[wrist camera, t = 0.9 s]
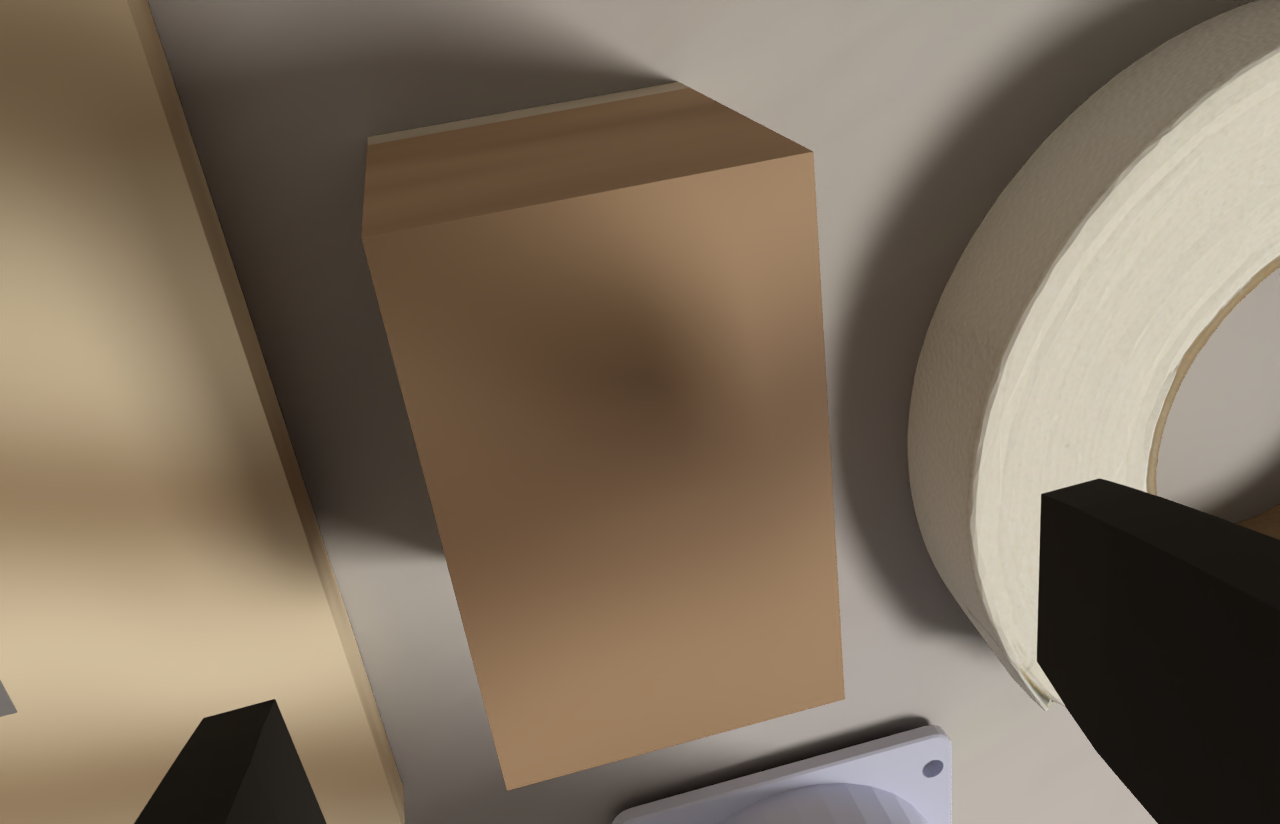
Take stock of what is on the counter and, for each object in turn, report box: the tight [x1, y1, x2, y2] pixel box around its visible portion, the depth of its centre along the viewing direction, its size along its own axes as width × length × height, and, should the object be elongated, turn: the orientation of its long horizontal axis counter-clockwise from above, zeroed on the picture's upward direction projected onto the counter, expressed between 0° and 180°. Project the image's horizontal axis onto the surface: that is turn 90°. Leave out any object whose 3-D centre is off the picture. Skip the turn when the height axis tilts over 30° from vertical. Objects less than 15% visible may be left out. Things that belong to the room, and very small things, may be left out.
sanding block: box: [361, 82, 845, 791], centre depth 16 cm, size 8×5×6 cm, turn 8°
